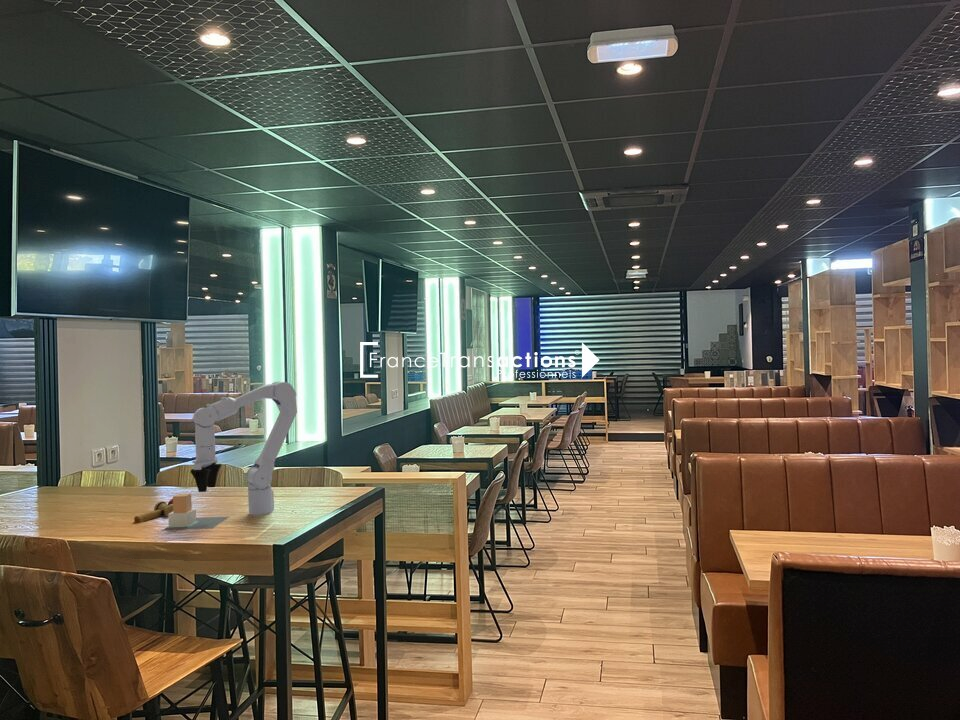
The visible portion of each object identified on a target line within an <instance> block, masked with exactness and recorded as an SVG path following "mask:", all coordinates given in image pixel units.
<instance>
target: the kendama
mask: <svg viewBox="0 0 960 720" xmlns="http://www.w3.org/2000/svg"><path fill="white" fill-rule="evenodd" d="M171 512H173V498H171V499H170V500H169V501H168V503H167V502H166V501H158V502H157V503H156V504H155V505H154V508H153V510H152V511H148V512H146V513H142V514H140V515H136V516H134V518H133V520H134V523H144V522H147V521H150V520H153V519H155V518H157V517H158V516H162V515H164V516H165V517H166V518H168V514H169V513H171Z"/></svg>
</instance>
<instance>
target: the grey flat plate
mask: <svg viewBox="0 0 960 720" xmlns="http://www.w3.org/2000/svg"><path fill="white" fill-rule="evenodd" d="M229 518H230V516H211V517H210V516H209V517H208V516H207V517H196V522H195V523H193V524H192V525H190V526H184V527H169V525H168V526H166V527H165V528H162V530H161V531H184V530H185V531H187V530H207V529H208V530H209V529H210V530H211V529H215V527H217V526H218V525H220V524H222V523H223V522H224V521H226V520H227V519H229Z"/></svg>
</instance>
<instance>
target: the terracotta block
mask: <svg viewBox="0 0 960 720" xmlns="http://www.w3.org/2000/svg"><path fill="white" fill-rule="evenodd" d="M172 499H173V513H187V512H189V511H190V510H192V509H193V507H192V506H193V505H192V493H178V494H176V495H173V496H172Z"/></svg>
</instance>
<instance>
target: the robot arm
mask: <svg viewBox="0 0 960 720" xmlns="http://www.w3.org/2000/svg"><path fill="white" fill-rule="evenodd" d="M296 397H297V392H296V390H295V389H294V387H293V385H292V384H291V382H290V383H289V382H287V381H282V382H281V381H274V382H272V383H268V384H264V385H262V386H259V387H256V388H255V389H252V390H251V391H248V392H247V393H244V394H242V395H240V396H237V397H235V398H234V397H230V396H228V397H226V396H222V397H221V398H220V400H218V401H215V402H214V403H211V404H210V403H207V404H206V407H200V408H198V409H197V410H195V412H194V413H193V415H192V421H193V423H194V424H195V425H194V428H195V432H194V438H195V440H194V441H195V460H192V461H191V462H192V464H193V468H192V469H190V474H192V477H193V478H194V481H195V483H196V484H195V485H196V486H197V487H196V488H197V490H198V492H199V493H205V492H207V491H208V490H207V489H208V488H215V487H216V485H217V479H218V474H219V472H220V469H221V467H222V464H221V463H218V456H217V455H216V439H215V438H216V436H215V435H216V434H215V423H216V422H219V421H222V420H224V419H226V418H228V417H231V416H233V415H236V414H237V413H238V410H239V409H240V408H241V407H244V406H246V405H249V404H252V403H254V402H257V401H260V400H261V399H270V400H272V401H273V402H274V403H275V404H276V407H277V409H278V411H279V414H278V416H277V418H276V420H275V422H274V425H273V427H272V429H271V431H270V433H269V435H268V437H267V440H266V442H265V444H264V446H263V448H262V449H261V450H262V451H260V452H261V453H260V455H258V458H257V459H255V461H254V463H253V464H252V466H250V468H248V470H247V471H246V474H245V475H246V476H245V478H246V481H247V482H248V483H249V485H248V486H247V495H248V497H247V498H248V499H247V500H248V515H249V516H263V515H269V514H271V513H273V511H274V510H275V499H274V497H275V496H274V495H275V494H274V490H273V489H272V485H271V483H272V481H273V472H274V470H275V461H276V460H277V457H278V455H279V453H280V451H281V448H282V446H283V444H284V441H285V440H286V437H287V435H288V433H289V430H291V428H292V427H291V426H292V425H293V423H294V420H295V417H296V415H297V413H298V408H297V399H296Z"/></svg>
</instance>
